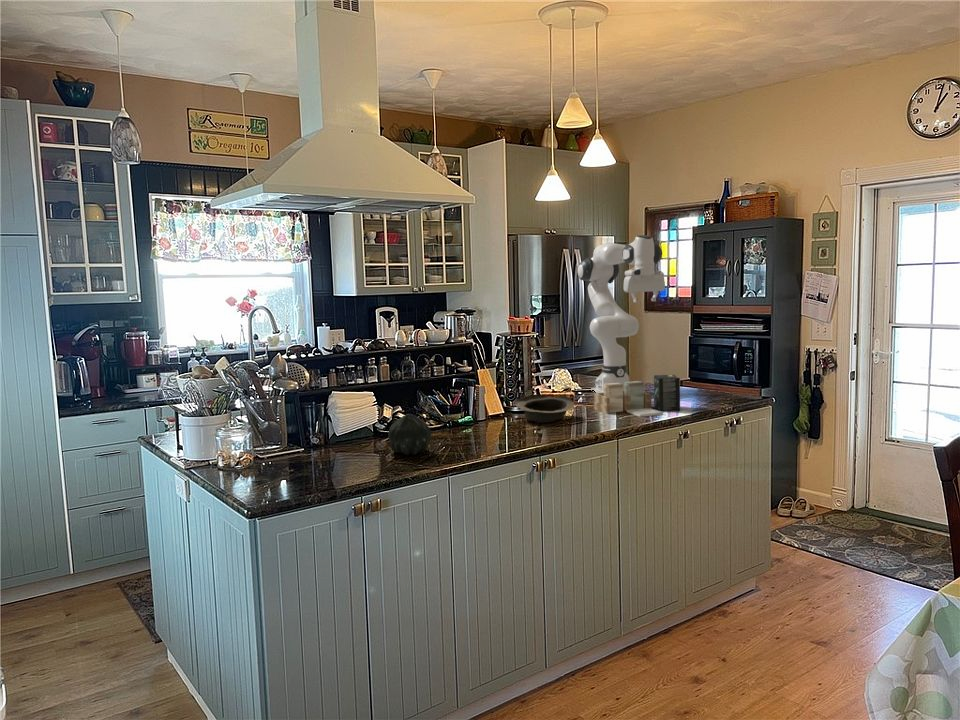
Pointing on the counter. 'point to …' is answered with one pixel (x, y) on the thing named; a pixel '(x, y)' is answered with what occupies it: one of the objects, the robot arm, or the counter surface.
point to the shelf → (625, 398)
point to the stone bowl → (544, 407)
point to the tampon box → (667, 392)
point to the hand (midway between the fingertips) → (644, 301)
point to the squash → (409, 435)
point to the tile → (644, 412)
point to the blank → (614, 396)
